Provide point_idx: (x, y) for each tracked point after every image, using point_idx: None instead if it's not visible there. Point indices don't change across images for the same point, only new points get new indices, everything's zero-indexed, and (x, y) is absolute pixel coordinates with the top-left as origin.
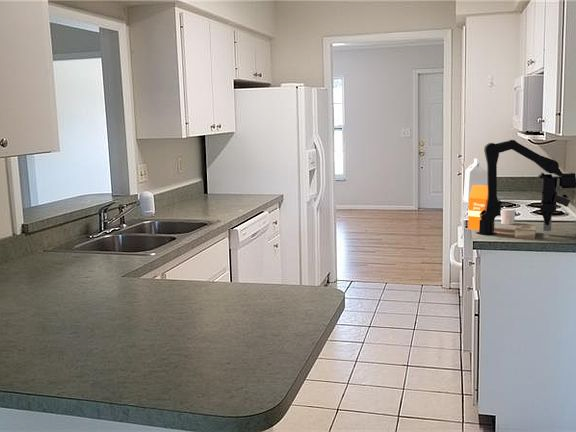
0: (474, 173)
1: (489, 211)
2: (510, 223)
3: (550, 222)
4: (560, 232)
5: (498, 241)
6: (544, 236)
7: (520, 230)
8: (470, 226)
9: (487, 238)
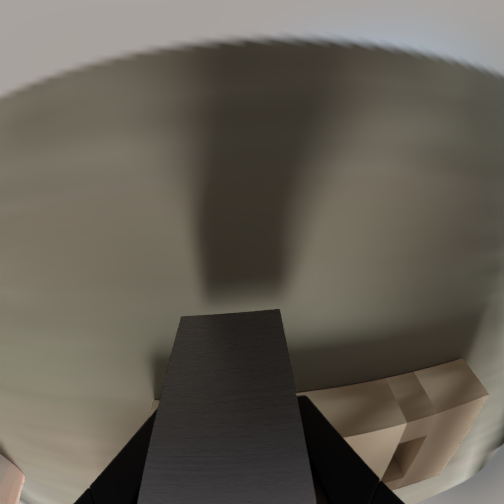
0: None
1: None
2: (8, 465)
3: (298, 412)
4: (5, 205)
5: (491, 442)
6: (323, 326)
7: (419, 469)
8: None
9: (430, 485)
